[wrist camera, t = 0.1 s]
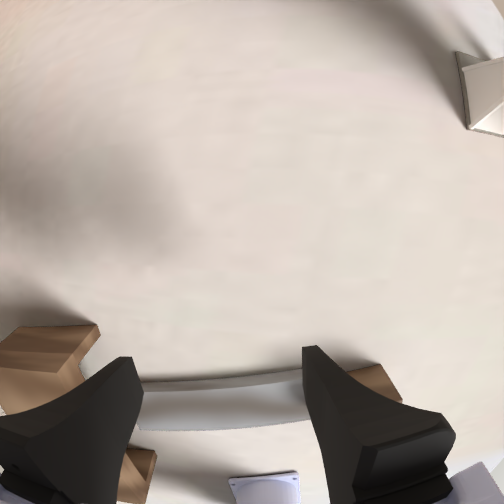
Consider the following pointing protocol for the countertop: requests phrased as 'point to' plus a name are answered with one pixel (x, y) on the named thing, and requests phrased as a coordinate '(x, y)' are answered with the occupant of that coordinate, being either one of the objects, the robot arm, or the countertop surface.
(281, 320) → the countertop surface
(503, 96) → the skyscraper
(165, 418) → the putty knife
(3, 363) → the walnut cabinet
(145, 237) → the countertop surface
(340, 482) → the robot arm
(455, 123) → the countertop surface
